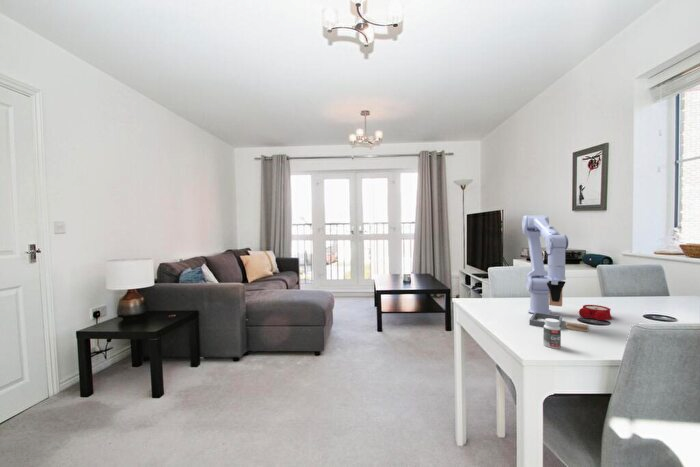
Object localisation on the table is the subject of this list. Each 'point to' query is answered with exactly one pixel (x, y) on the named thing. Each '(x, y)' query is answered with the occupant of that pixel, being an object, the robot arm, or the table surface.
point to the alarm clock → (595, 312)
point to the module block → (555, 302)
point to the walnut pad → (576, 327)
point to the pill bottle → (552, 333)
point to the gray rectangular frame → (543, 316)
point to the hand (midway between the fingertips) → (556, 300)
